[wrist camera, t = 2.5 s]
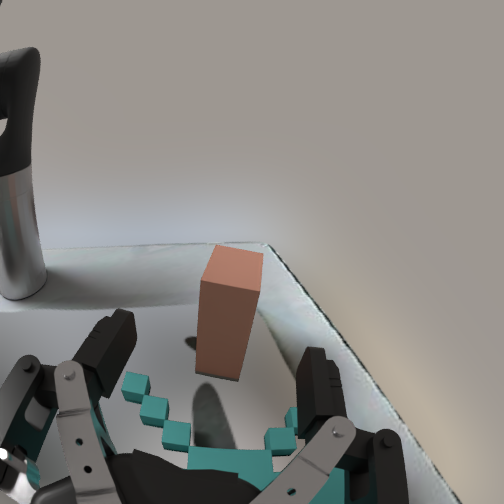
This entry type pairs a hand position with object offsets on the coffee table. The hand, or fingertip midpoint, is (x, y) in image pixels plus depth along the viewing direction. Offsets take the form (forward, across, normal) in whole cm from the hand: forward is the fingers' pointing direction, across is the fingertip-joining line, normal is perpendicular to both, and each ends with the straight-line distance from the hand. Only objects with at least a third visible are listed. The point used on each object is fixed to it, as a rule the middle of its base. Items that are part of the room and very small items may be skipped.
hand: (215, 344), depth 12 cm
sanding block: (+12, 0, +14) cm, 19 cm away
